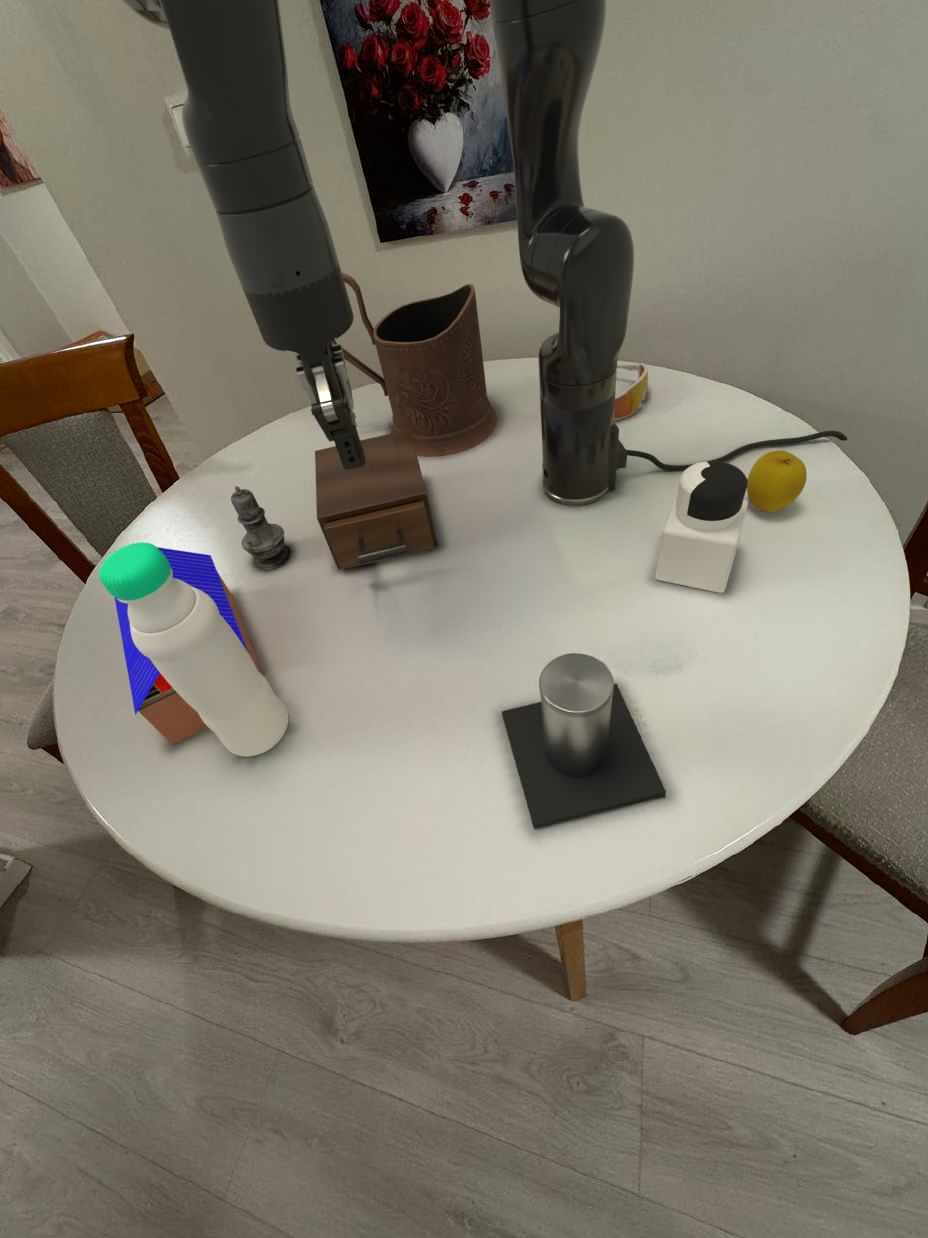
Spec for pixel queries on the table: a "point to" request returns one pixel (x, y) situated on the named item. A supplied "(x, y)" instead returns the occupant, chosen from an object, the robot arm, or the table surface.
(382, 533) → the drawer
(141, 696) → the house
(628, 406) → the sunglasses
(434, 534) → the cabinet
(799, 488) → the apple
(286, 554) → the stone chess piece
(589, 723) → the metal canister
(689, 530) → the container
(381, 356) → the brown embossed pitcher
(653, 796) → the coaster mat
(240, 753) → the water bottle
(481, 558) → the table surface
